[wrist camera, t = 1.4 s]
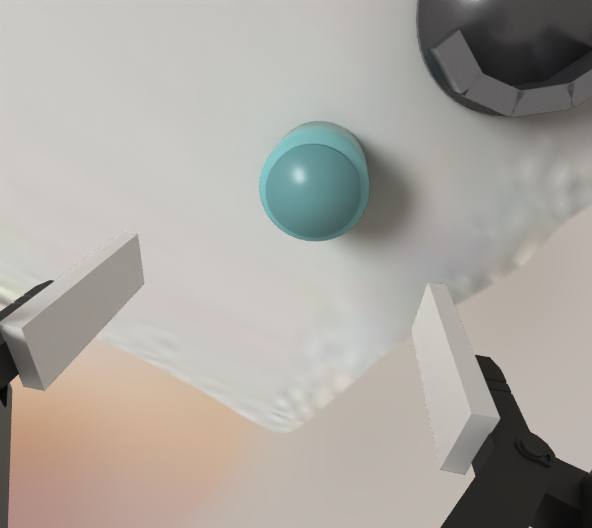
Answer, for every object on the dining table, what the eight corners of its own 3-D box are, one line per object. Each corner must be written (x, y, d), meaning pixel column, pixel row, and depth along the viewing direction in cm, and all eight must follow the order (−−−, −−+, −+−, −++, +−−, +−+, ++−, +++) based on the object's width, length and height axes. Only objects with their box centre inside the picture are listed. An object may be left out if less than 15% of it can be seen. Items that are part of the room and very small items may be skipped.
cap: (275, 115, 29) (259, 129, 24) (375, 127, 28) (380, 144, 23) (270, 208, 33) (255, 236, 28) (357, 220, 32) (358, 251, 27)
